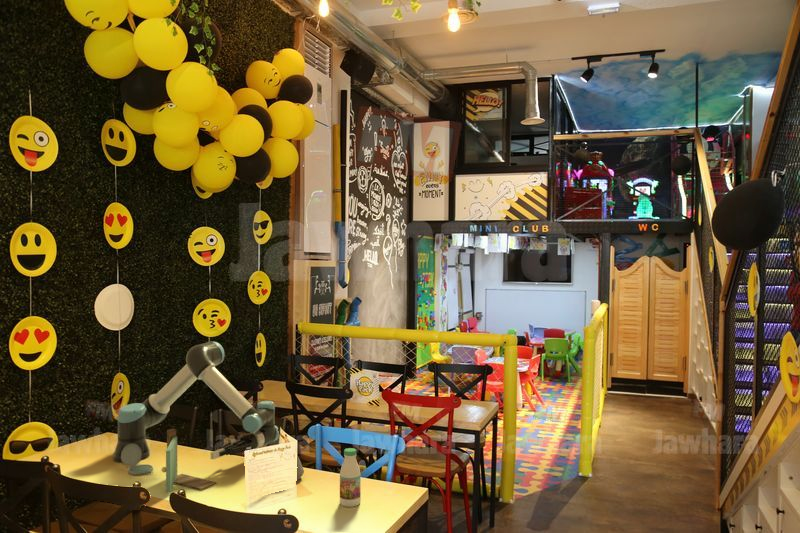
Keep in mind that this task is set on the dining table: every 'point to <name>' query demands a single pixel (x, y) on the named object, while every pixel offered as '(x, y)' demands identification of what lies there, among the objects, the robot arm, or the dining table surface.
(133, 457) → the pocket watch
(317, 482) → the dining table surface
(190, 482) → the door frame
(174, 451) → the door
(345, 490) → the milk bottle
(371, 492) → the dining table surface
